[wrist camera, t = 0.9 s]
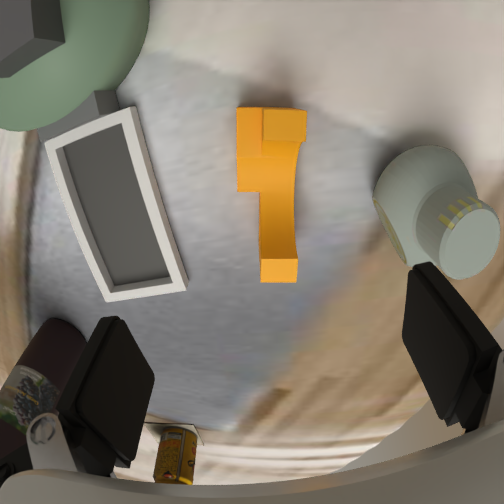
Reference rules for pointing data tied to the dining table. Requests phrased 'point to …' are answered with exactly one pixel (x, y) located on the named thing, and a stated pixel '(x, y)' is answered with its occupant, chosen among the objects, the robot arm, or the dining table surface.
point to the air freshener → (436, 212)
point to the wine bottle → (37, 380)
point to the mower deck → (91, 134)
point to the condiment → (175, 452)
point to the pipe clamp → (272, 181)
